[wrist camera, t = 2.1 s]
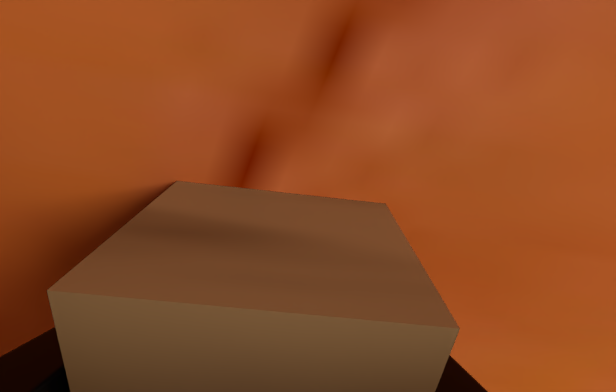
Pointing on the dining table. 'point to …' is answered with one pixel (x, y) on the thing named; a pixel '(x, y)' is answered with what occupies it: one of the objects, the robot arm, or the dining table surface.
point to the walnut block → (252, 299)
